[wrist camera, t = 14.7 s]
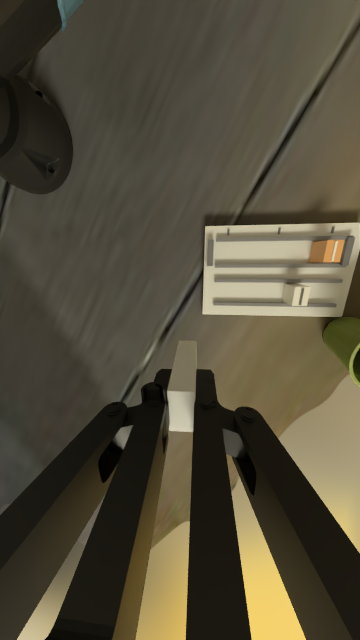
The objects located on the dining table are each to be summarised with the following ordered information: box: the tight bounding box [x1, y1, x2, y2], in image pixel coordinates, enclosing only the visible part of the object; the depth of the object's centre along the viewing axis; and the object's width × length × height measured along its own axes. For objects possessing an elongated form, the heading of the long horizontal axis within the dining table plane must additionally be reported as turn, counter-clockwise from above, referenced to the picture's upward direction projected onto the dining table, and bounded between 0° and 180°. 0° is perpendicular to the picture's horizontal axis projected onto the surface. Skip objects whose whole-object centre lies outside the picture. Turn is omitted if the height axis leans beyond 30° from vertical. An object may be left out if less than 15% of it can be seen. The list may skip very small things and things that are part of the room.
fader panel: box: [202, 223, 360, 317], centre depth 33 cm, size 16×26×6 cm, turn 90°
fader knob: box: [309, 240, 345, 262], centre depth 30 cm, size 3×2×4 cm
